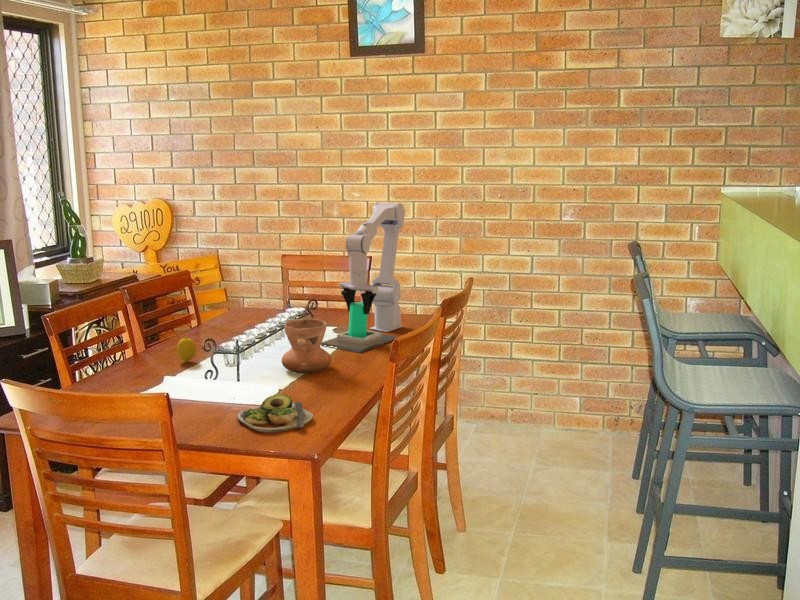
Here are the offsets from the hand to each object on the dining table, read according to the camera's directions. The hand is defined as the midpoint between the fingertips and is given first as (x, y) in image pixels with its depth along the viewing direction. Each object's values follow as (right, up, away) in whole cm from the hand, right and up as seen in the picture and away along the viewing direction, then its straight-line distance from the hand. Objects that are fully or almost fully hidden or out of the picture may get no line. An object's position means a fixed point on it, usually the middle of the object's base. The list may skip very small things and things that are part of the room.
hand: (358, 312), depth 279 cm
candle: (-1, -8, +2) cm, 8 cm away
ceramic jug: (-14, -17, -28) cm, 35 cm away
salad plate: (-17, -26, -70) cm, 76 cm away
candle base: (0, -10, +2) cm, 10 cm away
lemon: (-51, -15, -20) cm, 57 cm away
